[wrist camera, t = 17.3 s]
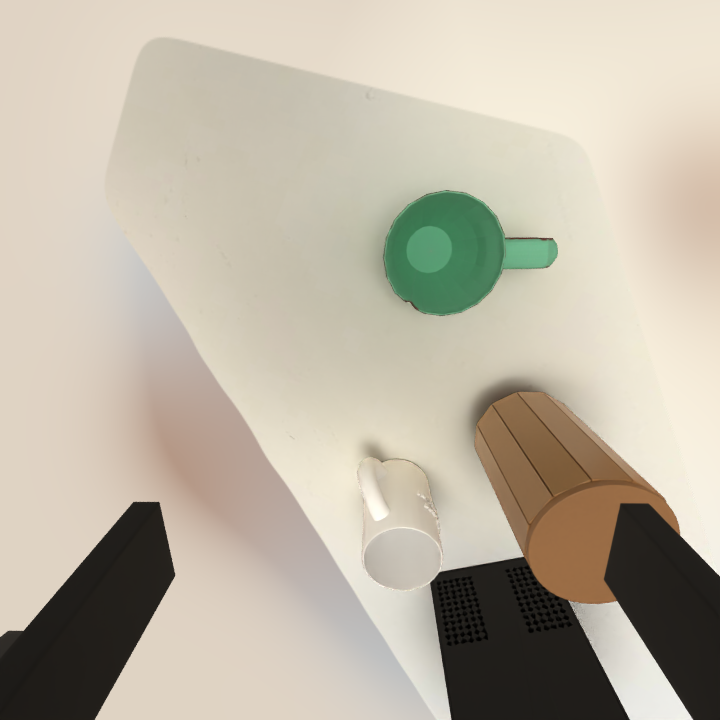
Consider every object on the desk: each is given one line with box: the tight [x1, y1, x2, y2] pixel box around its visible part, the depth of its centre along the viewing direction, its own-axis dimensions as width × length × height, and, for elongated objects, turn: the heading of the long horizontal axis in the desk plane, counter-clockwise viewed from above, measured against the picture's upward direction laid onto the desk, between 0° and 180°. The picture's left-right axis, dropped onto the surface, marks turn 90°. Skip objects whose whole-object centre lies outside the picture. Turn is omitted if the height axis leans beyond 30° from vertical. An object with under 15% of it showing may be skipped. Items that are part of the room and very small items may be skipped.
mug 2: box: [383, 190, 558, 316], centre depth 37 cm, size 15×10×10 cm
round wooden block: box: [475, 392, 680, 604], centre depth 36 cm, size 10×10×16 cm
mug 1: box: [357, 457, 443, 591], centre depth 45 cm, size 8×12×12 cm
